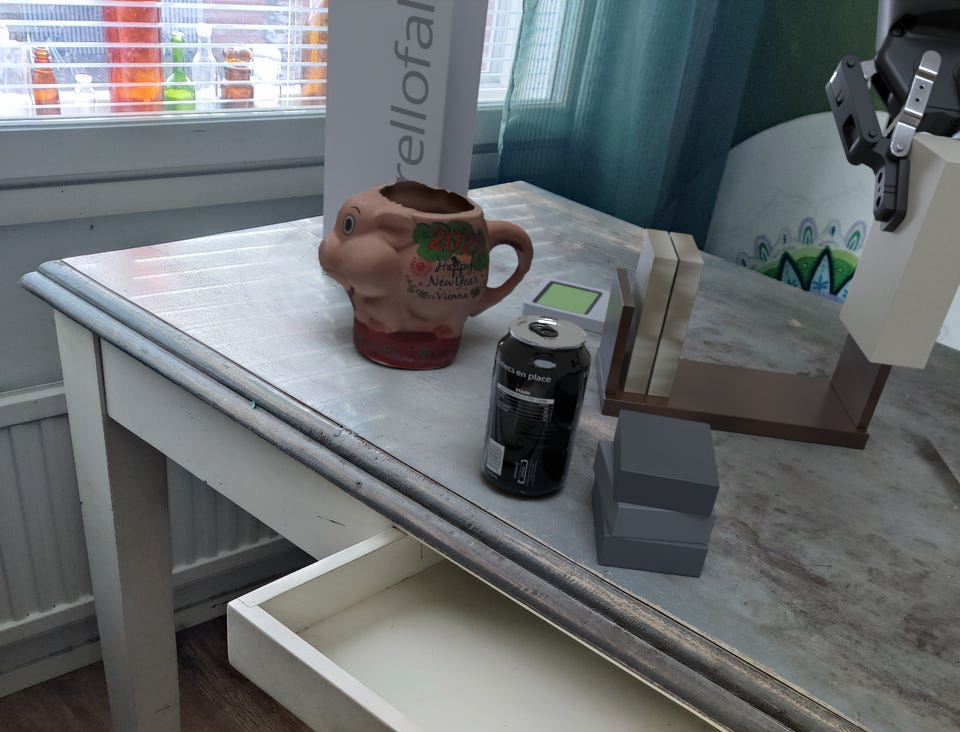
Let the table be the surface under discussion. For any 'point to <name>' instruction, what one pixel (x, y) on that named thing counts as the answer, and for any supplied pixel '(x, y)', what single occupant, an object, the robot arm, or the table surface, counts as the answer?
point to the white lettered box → (400, 95)
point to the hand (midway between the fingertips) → (926, 229)
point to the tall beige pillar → (910, 263)
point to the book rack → (717, 387)
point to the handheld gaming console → (569, 303)
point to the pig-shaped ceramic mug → (417, 269)
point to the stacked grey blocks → (655, 494)
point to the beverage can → (535, 404)
